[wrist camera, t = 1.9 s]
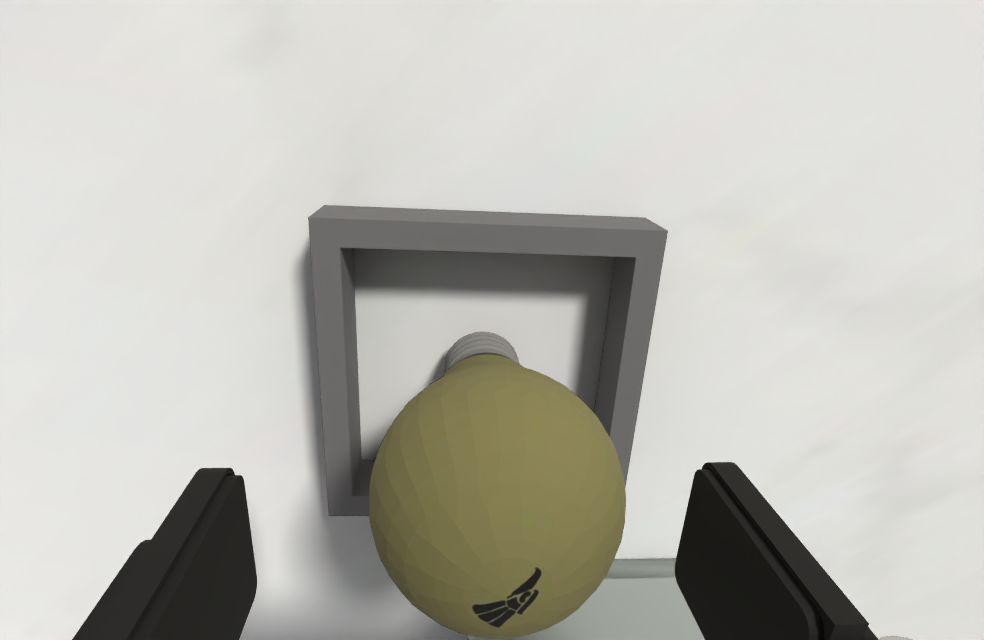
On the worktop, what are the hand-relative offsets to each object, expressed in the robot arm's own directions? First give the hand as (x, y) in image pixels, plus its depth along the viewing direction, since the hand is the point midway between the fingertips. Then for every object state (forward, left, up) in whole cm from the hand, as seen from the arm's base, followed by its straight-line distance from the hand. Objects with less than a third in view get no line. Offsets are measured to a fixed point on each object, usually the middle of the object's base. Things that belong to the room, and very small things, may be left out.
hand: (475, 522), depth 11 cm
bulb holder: (-1, 0, -8) cm, 8 cm away
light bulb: (-1, 0, -8) cm, 8 cm away
